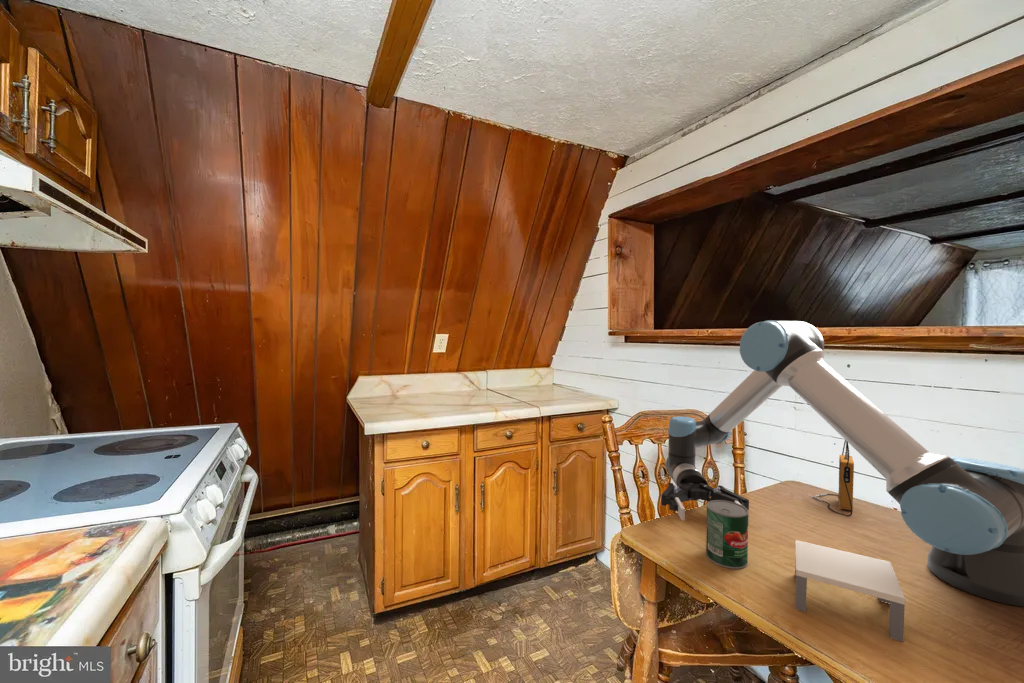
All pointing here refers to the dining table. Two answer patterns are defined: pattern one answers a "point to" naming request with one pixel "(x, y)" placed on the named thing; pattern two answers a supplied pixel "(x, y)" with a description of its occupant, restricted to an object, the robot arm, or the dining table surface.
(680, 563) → the dining table surface
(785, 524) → the dining table surface
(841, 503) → the multimeter
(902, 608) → the shelf
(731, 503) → the canned tomato
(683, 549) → the dining table surface
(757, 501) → the dining table surface
